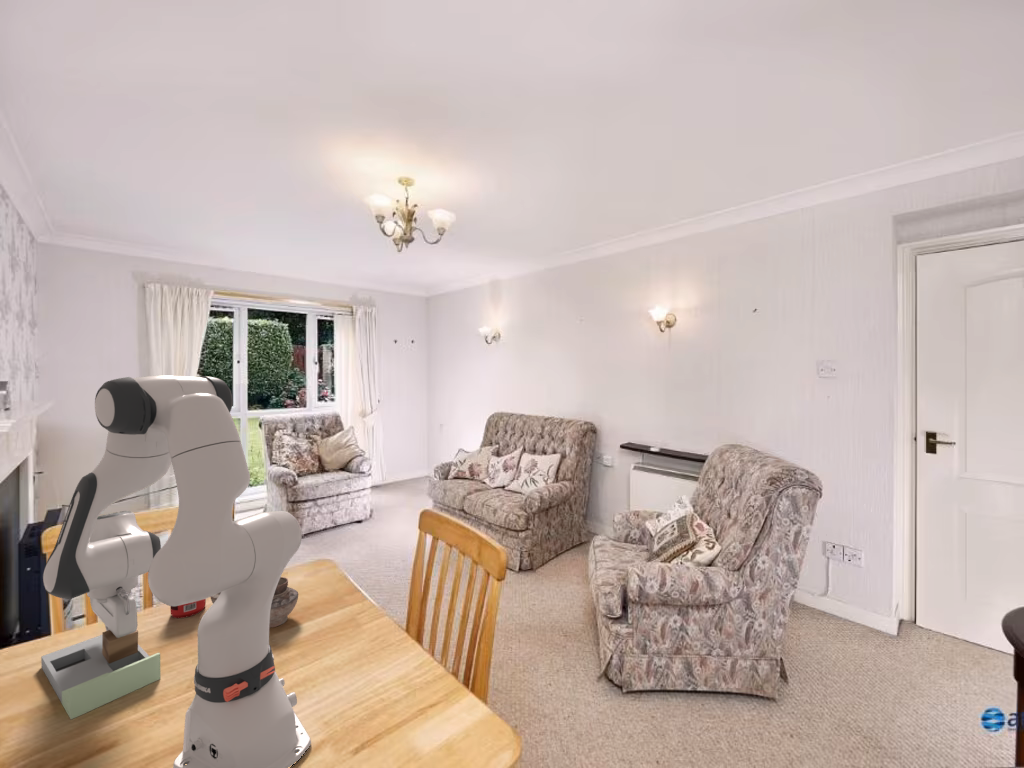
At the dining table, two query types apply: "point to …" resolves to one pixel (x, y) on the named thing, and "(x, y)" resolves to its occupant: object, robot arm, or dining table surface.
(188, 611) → the canned food
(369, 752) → the dining table surface
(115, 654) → the walnut block
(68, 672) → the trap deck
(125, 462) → the robot arm
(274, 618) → the pottery
